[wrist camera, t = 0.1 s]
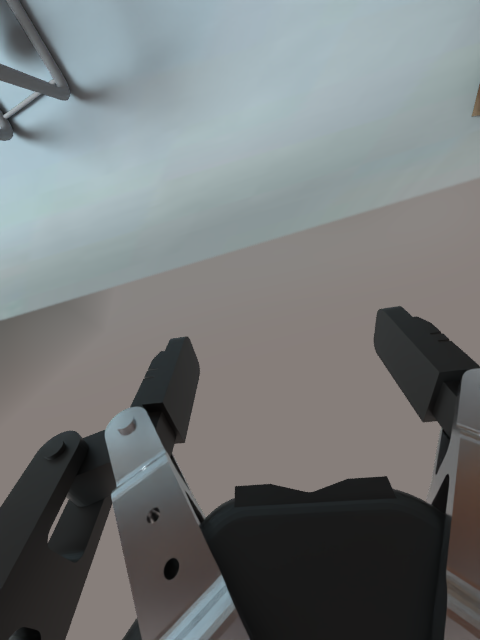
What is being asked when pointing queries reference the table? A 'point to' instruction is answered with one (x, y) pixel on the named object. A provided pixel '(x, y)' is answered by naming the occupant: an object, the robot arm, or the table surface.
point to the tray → (477, 104)
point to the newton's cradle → (26, 80)
